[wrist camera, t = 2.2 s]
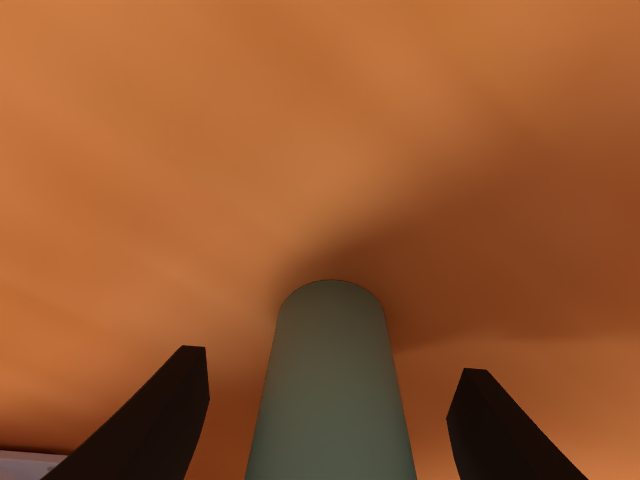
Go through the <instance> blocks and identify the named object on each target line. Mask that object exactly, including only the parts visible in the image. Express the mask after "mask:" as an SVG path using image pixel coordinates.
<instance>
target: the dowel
mask: <svg viewBox="0 0 640 480" xmlns="http://www.w3.org/2000/svg"><path fill="white" fill-rule="evenodd" d="M245 480H417V476H416V471H415V466H414V461H413V456H412V451H411V446H410V441H409V436H408V430H407V425H406V420H405V415H404V410H403V405H402V400H401V395H400V390H399V385H398V380H397V374H396V369H395V364H394V359H393V354H392V349H391V344H390V339H389V334H388V329H387V323H386V318H385V314H384V311H383V308H382V306H381V305H380V303H379V302H378V300H377V299H376V298H375V297H374V296H373V295H372V294H371V293H370V292H368V291H367V290H365V289H364V288H362V287H360V286H358V285H355V284H353V283H350V282H346V281H340V280H322V281H317V282H313V283H310V284H307V285H305V286H302V287H300V288H299V289H297V290H296V291H294V292H293V293H292V294H291V295H290V296H289V297H288V298H287V299H286V300H285V301H284V303H283V304H282V306H281V309H280V311H279V315H278V319H277V324H276V329H275V334H274V339H273V344H272V349H271V353H270V358H269V363H268V368H267V373H266V378H265V383H264V387H263V392H262V397H261V402H260V407H259V412H258V417H257V421H256V426H255V431H254V436H253V441H252V446H251V451H250V455H249V460H248V465H247V470H246V475H245Z"/></svg>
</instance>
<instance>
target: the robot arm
mask: <svg viewBox="0 0 640 480" xmlns="http://www.w3.org/2000/svg"><path fill="white" fill-rule="evenodd" d="M209 401H210V396H209V385H208V373H207V362H206V350H205V347H198V346H186V345H182V346H181V347H180V348H179V349H178V350H177V351H176V352H175V353H174V354H173V355H172V356H171V357H170V358H169V359H168V360H167V361H166V362H165V364H164V365H163V366H162V367H161V368H160V369H159V370H158V371H157V372H156V373H155V374H154V375H153V376H152V377H151V378H150V379H149V380H148V381H147V382H146V383H145V384H144V385H143V386H142V387H141V388H140V389H139V390H138V391H137V392H136V393H135V394H134V395H133V396H132V397H131V398H130V399H129V400H128V401H127V402H126V403H125V404H124V405H123V406H122V407H121V408H120V409H119V410H118V411H117V412H116V413H115V414H114V415H113V416H112V417H111V418H110V419H109V420H108V421H107V422H105V423H104V424H103V425H102V426H101V427H100V428H99V429H98V430H97V431H96V432H94V433H93V434H92V435H91V436H90V437H89V438H88V439H87V440H86V441H85V442H83V443H82V444H81V445H80V446H79V447H78V448H77V449H76V450H74V451H73V452H72V453H71V454H70V455H69V456H68V455H55V454H42V453H29V452H17V451H4V450H0V480H183V479H184V477H185V474H186V471H187V469H188V466H189V464H190V461H191V459H192V456H193V453H194V451H195V448H196V446H197V443H198V440H199V437H200V434H201V430H202V427H203V423H204V420H205V416H206V412H207V408H208V404H209ZM446 420H447V426H448V431H449V436H450V442H451V446H452V451H453V456H454V460H455V463H456V466H457V470H458V473H459V476H460V479H461V480H588V479H587V478H586V477H585V476H584V475H583V474H582V473H581V472H580V471H579V470H578V469H577V468H576V467H575V466H574V465H573V464H572V463H571V462H570V461H569V460H568V458H567V457H566V456H565V455H564V454H563V453H562V452H561V451H560V450H559V449H558V448H557V447H556V446H555V445H554V444H553V443H552V442H551V441H550V440H549V438H548V437H547V436H546V435H545V434H544V433H543V432H542V431H541V430H540V429H539V428H538V427H537V425H536V424H535V423H534V422H533V421H532V420H531V419H530V418H529V417H528V416H527V414H526V413H525V412H524V411H523V410H522V409H521V408H520V407H519V405H518V404H517V403H516V402H515V401H514V400H513V399H512V398H511V396H510V395H509V394H508V393H507V392H506V391H505V390H504V389H503V387H502V386H501V385H500V384H499V383H498V382H497V381H496V380H495V378H494V377H493V376H492V375H491V374H490V373H489V372H488V371H487V370H483V369H471V368H464V370H463V372H462V375H461V378H460V381H459V384H458V386H457V389H456V392H455V395H454V398H453V401H452V403H451V406H450V409H449V412H448V415H447V417H446Z"/></svg>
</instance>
